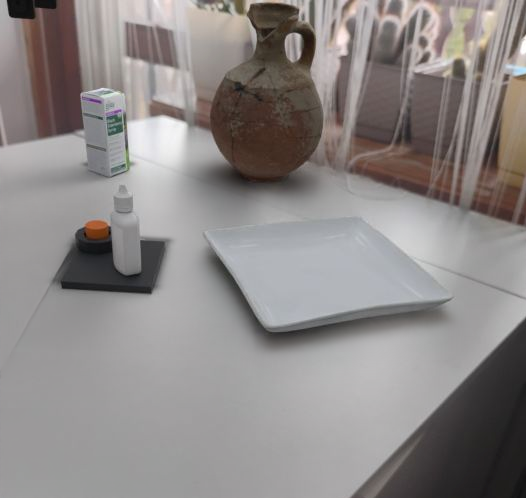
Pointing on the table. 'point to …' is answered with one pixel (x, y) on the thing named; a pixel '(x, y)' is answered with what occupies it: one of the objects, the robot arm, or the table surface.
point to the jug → (269, 100)
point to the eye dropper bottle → (125, 233)
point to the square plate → (322, 272)
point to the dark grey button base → (110, 266)
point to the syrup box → (105, 131)
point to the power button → (96, 229)
